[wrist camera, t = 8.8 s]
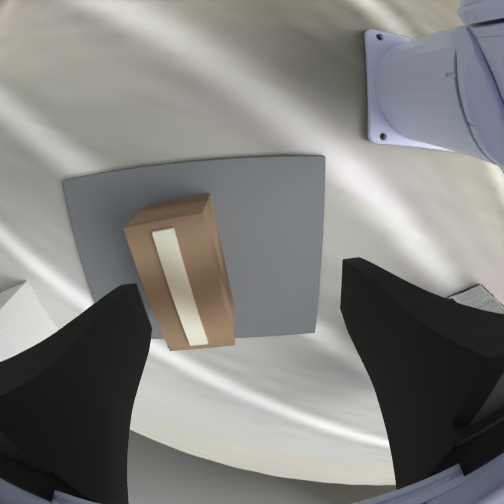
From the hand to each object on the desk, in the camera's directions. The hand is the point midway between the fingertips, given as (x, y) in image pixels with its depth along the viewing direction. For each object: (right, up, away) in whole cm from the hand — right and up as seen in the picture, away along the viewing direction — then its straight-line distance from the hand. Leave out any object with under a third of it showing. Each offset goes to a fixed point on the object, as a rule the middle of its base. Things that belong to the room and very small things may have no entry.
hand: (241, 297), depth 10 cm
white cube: (-23, -4, +13) cm, 27 cm away
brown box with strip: (-4, +1, +10) cm, 11 cm away
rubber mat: (-4, +1, +11) cm, 12 cm away
